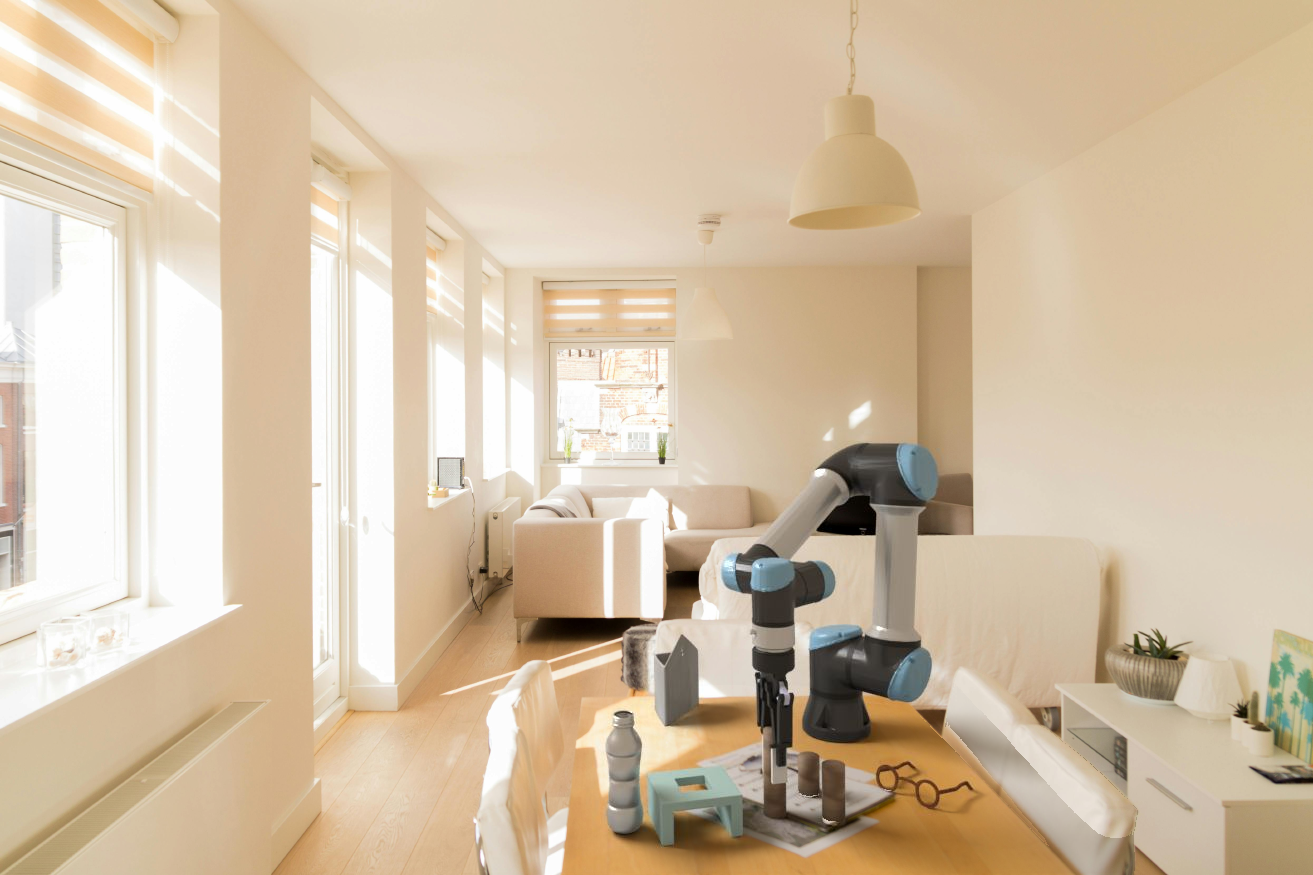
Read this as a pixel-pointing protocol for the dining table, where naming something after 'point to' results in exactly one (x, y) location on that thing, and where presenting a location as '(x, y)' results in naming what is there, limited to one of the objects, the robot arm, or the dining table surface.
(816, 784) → the pin short
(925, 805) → the glasses
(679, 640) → the planter
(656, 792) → the bridge
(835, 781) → the pin medium
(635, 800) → the plastic bottle
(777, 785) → the pin long
